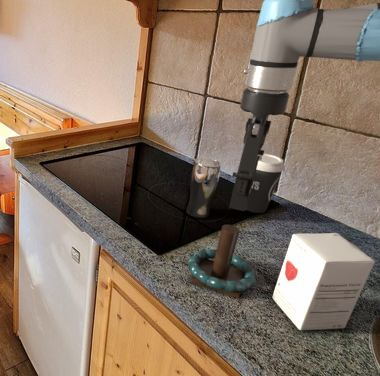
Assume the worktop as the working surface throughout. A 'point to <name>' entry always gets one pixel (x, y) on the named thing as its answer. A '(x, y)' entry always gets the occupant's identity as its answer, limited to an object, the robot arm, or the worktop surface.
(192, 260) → the ring
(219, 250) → the post
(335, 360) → the worktop surface
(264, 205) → the coffee cup
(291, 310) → the rectangular carton
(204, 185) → the beer glass
